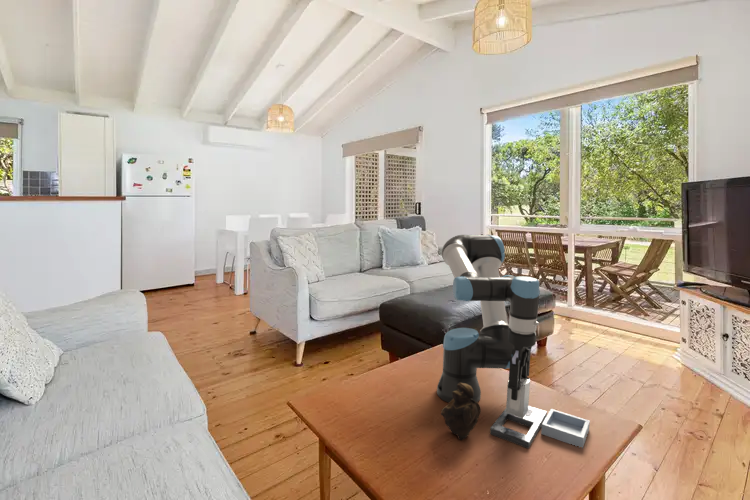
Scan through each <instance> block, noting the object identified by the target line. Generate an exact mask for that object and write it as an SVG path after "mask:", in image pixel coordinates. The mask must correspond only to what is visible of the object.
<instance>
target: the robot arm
mask: <svg viewBox="0 0 750 500" xmlns="http://www.w3.org/2000/svg"><path fill="white" fill-rule="evenodd" d="M441 257H442V260H443V262H444V263H445V264H446V265H448V266H449V267H448V268H449V270H450V271H451V273H452V275H453V282H452V293H453V294H452V295H453V298H454V299H455V300H456V301H463V302H476V301H478V302H480V311H481V315H482V316H481V317H482V324H483V327H482V328H481V329H480V330H479V332H478V330H477V329H474V328H471V327H470V328H469V327H456V328H453V329H450V330H448V331H447V332H446V333H445V335H444V337H443V344H442V348H443V349H442V350H443V352H442V353H443V354H442V372H441V375H440V378H439V381H438V383H437V387H436V393H437V396H438V397H439V398H440V399H441V400H442V401H444V402H446V403H447V404H449V402H450V401H451V400H452V399H454V398H453V394H452V392H453V391H456V390H458V387H457V385H458V383H465V384H468V385H470V386H471V387H472V388H473V391H474V396H473V400H474V401H475V402H478V403H479V402H480V400H481V395H482V392H481V390H482V389H481V387H480V384H479V380H478V377H477V371H478V369H503V370H506V369H509V371H508V380H509V383H508V382H507V387H508V388H510V389H511V390H510V406H509V408H512V409H515V410H518V411H519V409H520V394H521V389H520V382H521V377H523V378H526V379H529V380H530V381H531V378H530V377H529V376H530V368H531V367H530V366H531V355H532V354H531V353H532V352H531V351H532V347H534V346H535V345H536V342H537V332H536V331H537V326H539V324H540V322H539V321H537V320H538V314H539V313H538V312H539V303H540V302H539V301H540V292H541V290H540V280H539V279H538V278H535V277H532V276H525V275H523V276H522V275H521V276H515V275H511V274H505V275H503V276H500V271H499V268H501V267H502V264H503V263H504V261H505V258H506V253H505V245H504V242H503V240H502V239H501V237H500V236H498V235H492V234H486V235H485V234H484V235H483V234H481V235H479V234H459V235H455V236H453V237H451V238H450V239H448V240H447V241H446V242H445V243H444V245H443V247H442V249H441ZM505 302H509V304H510V305H509V319H508V317H507V310H506V304H505Z"/></svg>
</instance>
